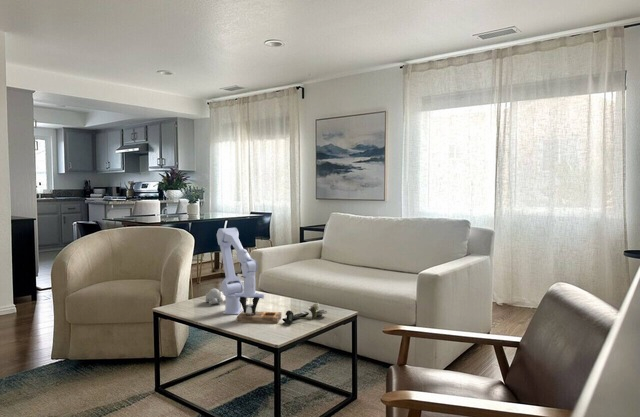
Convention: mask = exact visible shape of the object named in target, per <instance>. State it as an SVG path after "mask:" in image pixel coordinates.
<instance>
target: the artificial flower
mask: <svg viewBox="0 0 640 417" xmlns="http://www.w3.org/2000/svg"><path fill="white" fill-rule="evenodd" d="M307 308H308V311H310V312H311V313H310V314H311V316H312V318H307V317H302V316H300V317H298V316H297V317H296V316H294V312H293V311H292V310H290V309H289V310H287V311H286V313H285V316H286V318H285V323H286V324H288V323H289V324H288V325H292V324H293V320H294V319H295V320H297V319H302V320H303V319H305V320H308V321H312V320H315V319H316V318H317V316H323V315H326V314H328V311H327V310H325V309H320V304H319V302H315V303H314V304H313V305H310V306H308V307H307Z"/></svg>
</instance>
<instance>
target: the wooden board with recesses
mask: <svg viewBox="0 0 640 417" xmlns="http://www.w3.org/2000/svg"><path fill="white" fill-rule="evenodd" d="M281 319H282V312H278V311H277V312H276V311H255V313H254V316H246V312H245V313H244V311H243V310H242V311H241V312H240V313H239V314H237V316H236V323H256V324H257V323H258V324H259V323H260V324H261V323H262V324H263V323H264V324H278V323H279V322H280V320H281Z"/></svg>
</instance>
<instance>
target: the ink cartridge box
mask: <svg viewBox="0 0 640 417" xmlns="http://www.w3.org/2000/svg"><path fill="white" fill-rule="evenodd" d="M236 276H237V277H238V278H240V280H241V283H242V285H243V291H242V293H244V276H243V275H242V273H237V274H236ZM231 283H234V282H231ZM247 301H249V298H247V300H246V302H247Z"/></svg>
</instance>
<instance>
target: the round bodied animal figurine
mask: <svg viewBox="0 0 640 417" xmlns="http://www.w3.org/2000/svg"><path fill="white" fill-rule="evenodd" d="M204 294H205V302H206V303H209V305H210V306H212V305H216V304H220V303H221V302H223V300H224V299H223V297H222V291H221V290H219V289H218V288H215V287H214V288H211V289H210V290H209V291H208V293H204Z"/></svg>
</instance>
